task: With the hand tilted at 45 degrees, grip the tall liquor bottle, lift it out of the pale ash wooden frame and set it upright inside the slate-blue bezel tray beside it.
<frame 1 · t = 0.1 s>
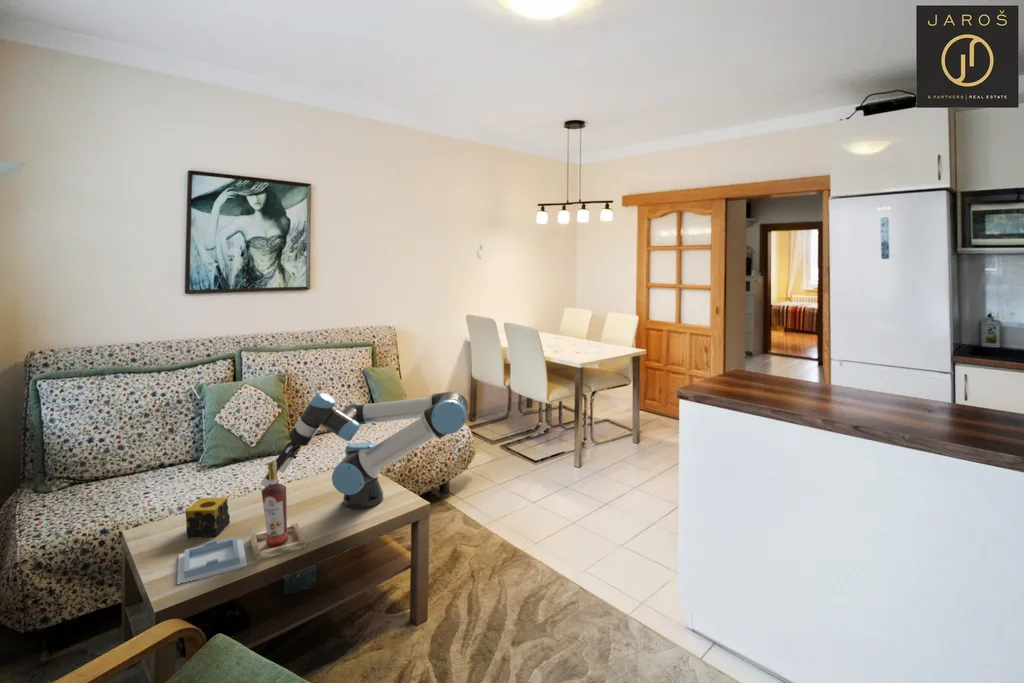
hand: (272, 478, 187), 15 cm above the table, tool tilted 35°, fingers open, 13 cm apart
liquor: (277, 544, 171), resting in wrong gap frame
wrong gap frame: (277, 543, 171), on the table
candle: (209, 531, 181), on the table
bezel tray: (212, 561, 161), on the table
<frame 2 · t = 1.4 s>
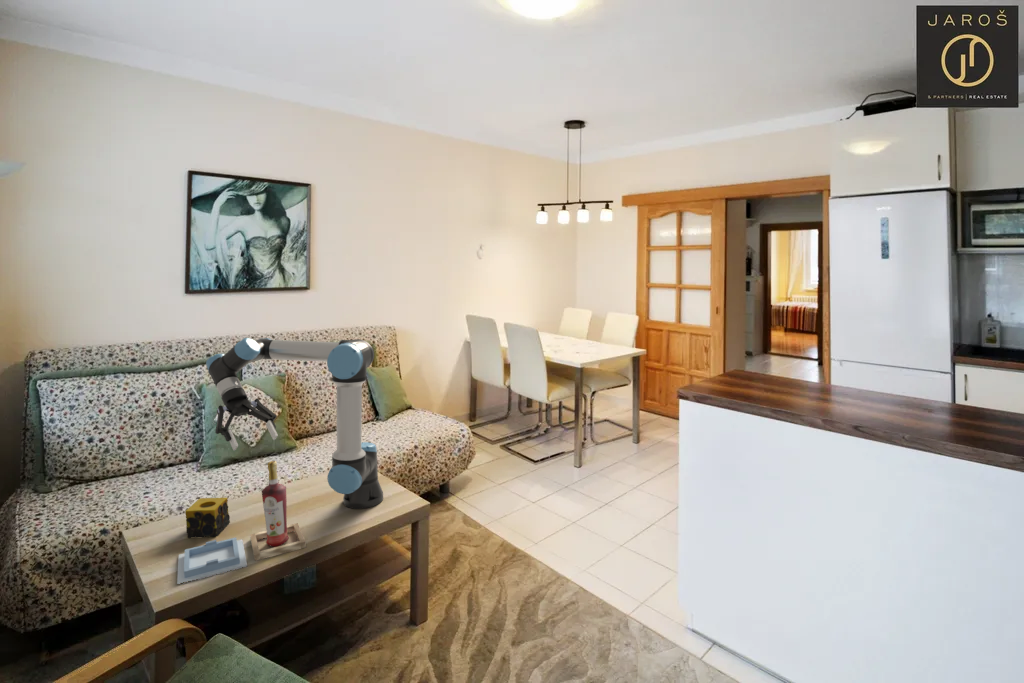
hand: (256, 442, 175), 32 cm above the table, tool tilted 45°, fingers open, 13 cm apart
nothing on the table moved.
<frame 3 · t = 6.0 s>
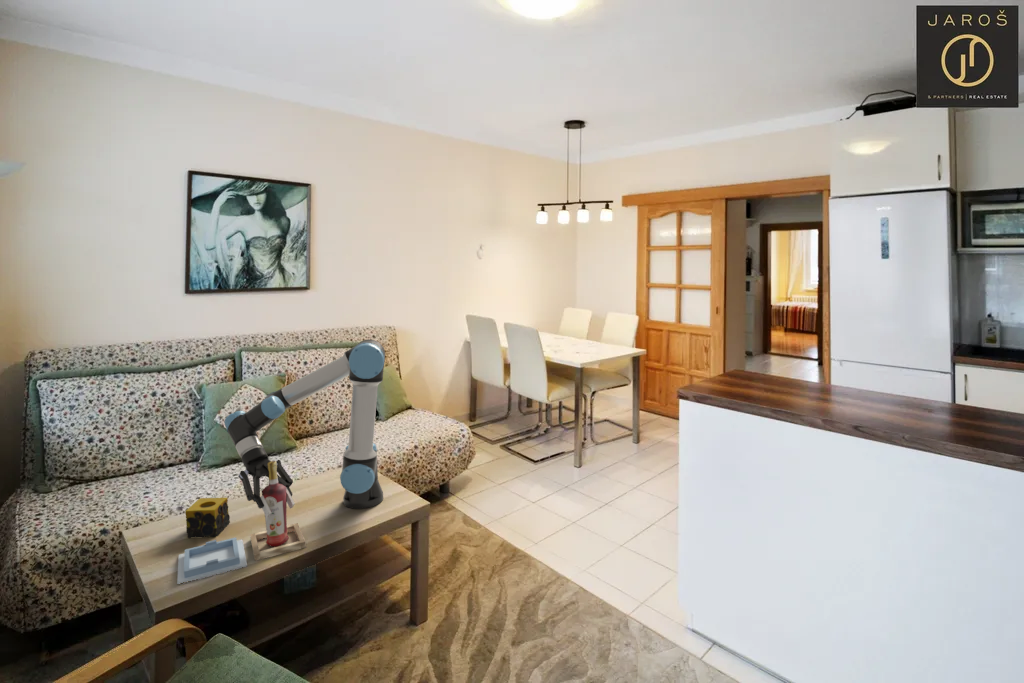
hand: (280, 510, 168), 13 cm above the table, tool tilted 45°, fingers closed on liquor, 7 cm apart
liquor: (277, 544, 171), resting in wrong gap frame, touching gripper
everything else where it was.
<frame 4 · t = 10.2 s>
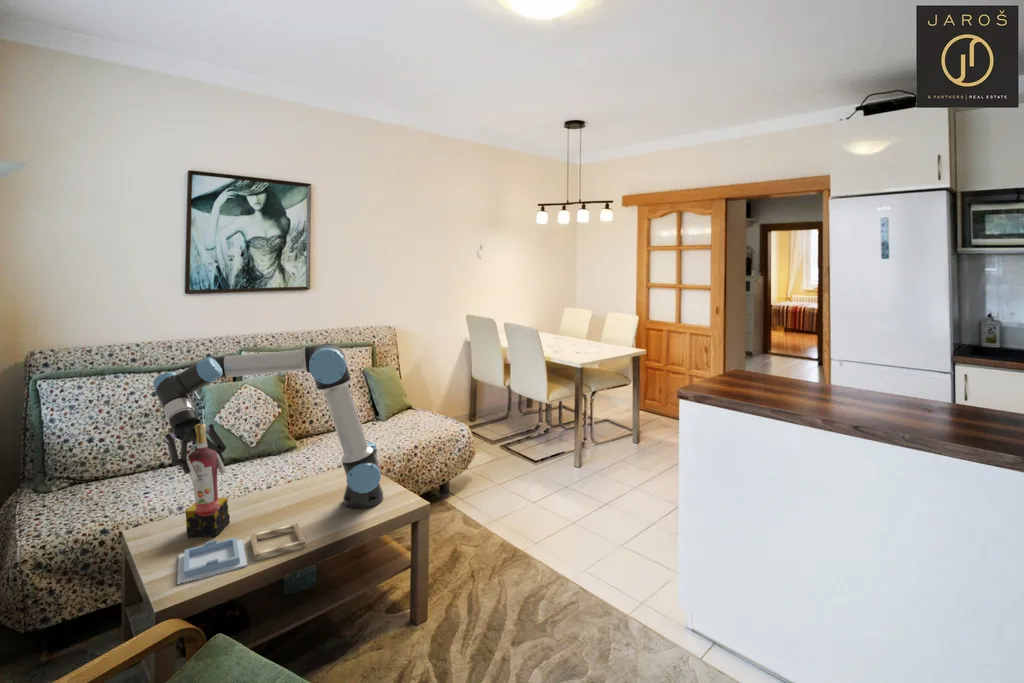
hand: (209, 476, 155), 28 cm above the table, tool tilted 45°, fingers closed on liquor, 7 cm apart
liquor: (208, 513, 159), point 16 cm above the table, touching gripper
everything else where it was.
when the fingers open (14 cm above the table, at t = 14.2 s): liquor drops 1 cm, resting on bezel tray.
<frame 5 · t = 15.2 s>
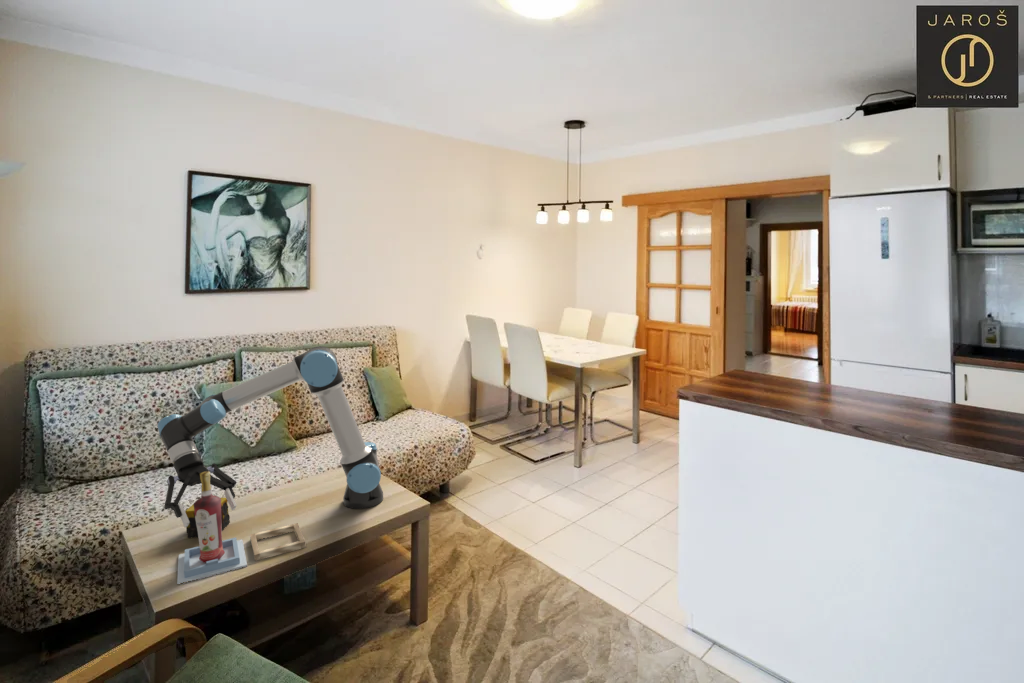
hand: (211, 516, 158), 15 cm above the table, tool tilted 45°, fingers open, 13 cm apart
liquor: (212, 559, 161), resting on bezel tray
everything else where it was.
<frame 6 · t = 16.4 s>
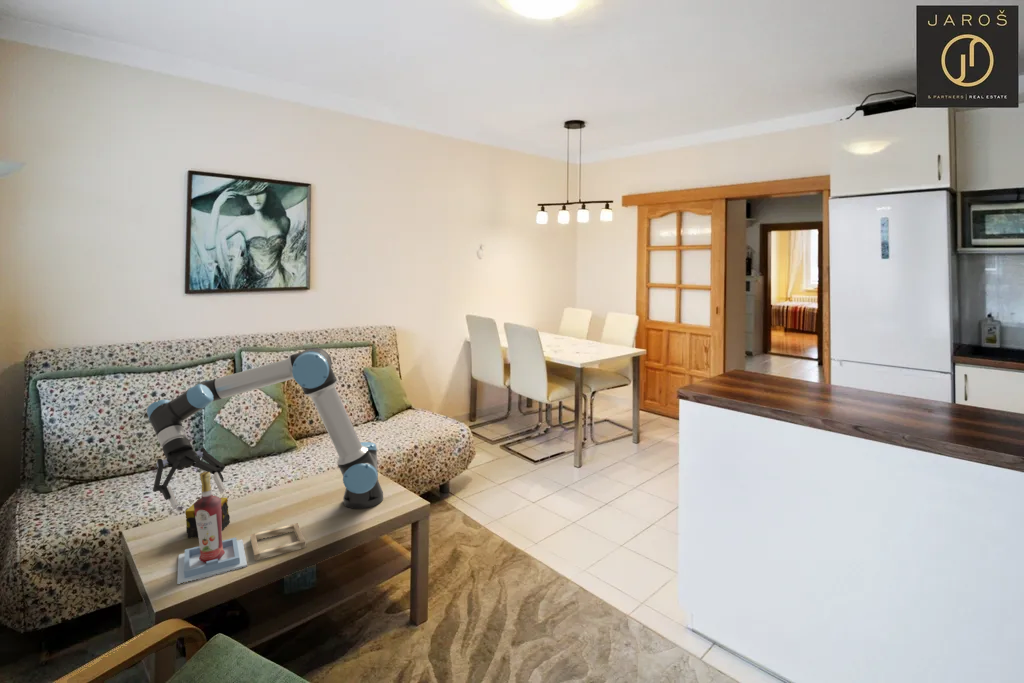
hand: (200, 499, 160), 20 cm above the table, tool tilted 45°, fingers open, 13 cm apart
nothing on the table moved.
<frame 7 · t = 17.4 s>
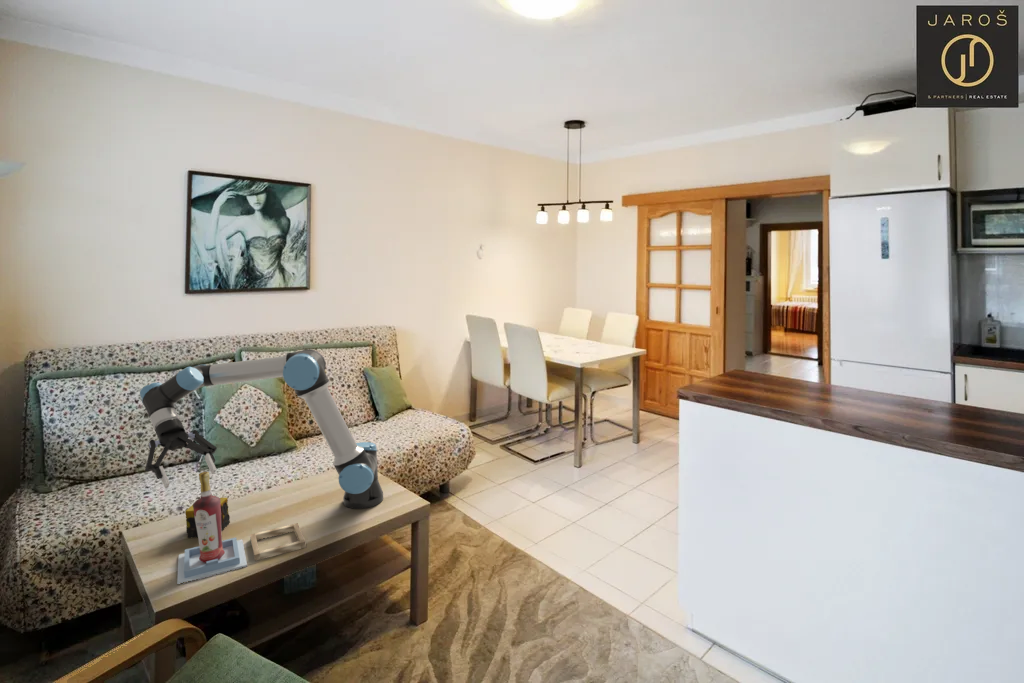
hand: (191, 478, 163), 25 cm above the table, tool tilted 45°, fingers open, 13 cm apart
nothing on the table moved.
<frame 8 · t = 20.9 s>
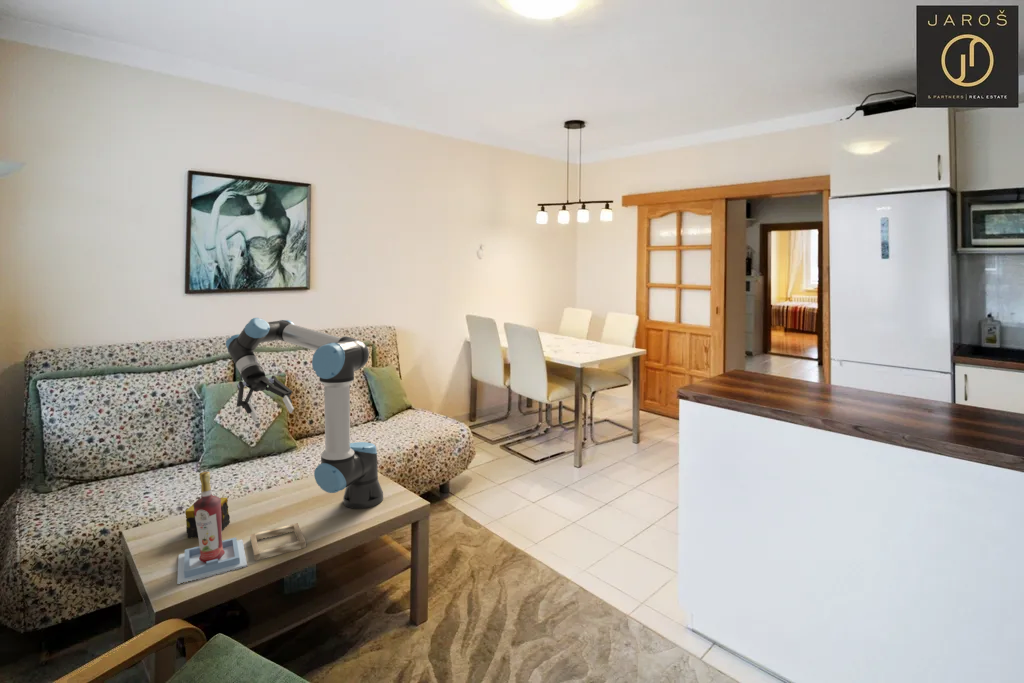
hand: (274, 415, 189), 38 cm above the table, tool tilted 45°, fingers open, 13 cm apart
nothing on the table moved.
at the end: liquor inside the target area on the bezel tray (0.1 cm from its centre), point 0.4 cm above the bezel tray's base; liquor tilted 0°; the gripper is holding nothing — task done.
